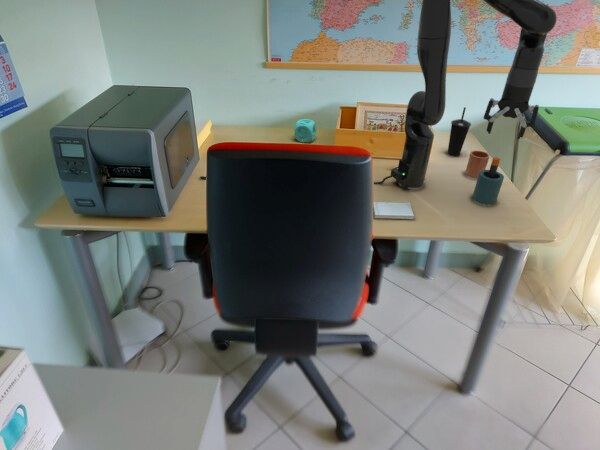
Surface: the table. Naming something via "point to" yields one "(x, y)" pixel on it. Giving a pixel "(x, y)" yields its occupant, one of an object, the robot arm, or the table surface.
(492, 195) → the jar
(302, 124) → the decorative dice
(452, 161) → the table surface
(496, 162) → the marker
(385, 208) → the hard drive
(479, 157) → the pen cup
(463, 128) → the drinking cup
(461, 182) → the table surface
